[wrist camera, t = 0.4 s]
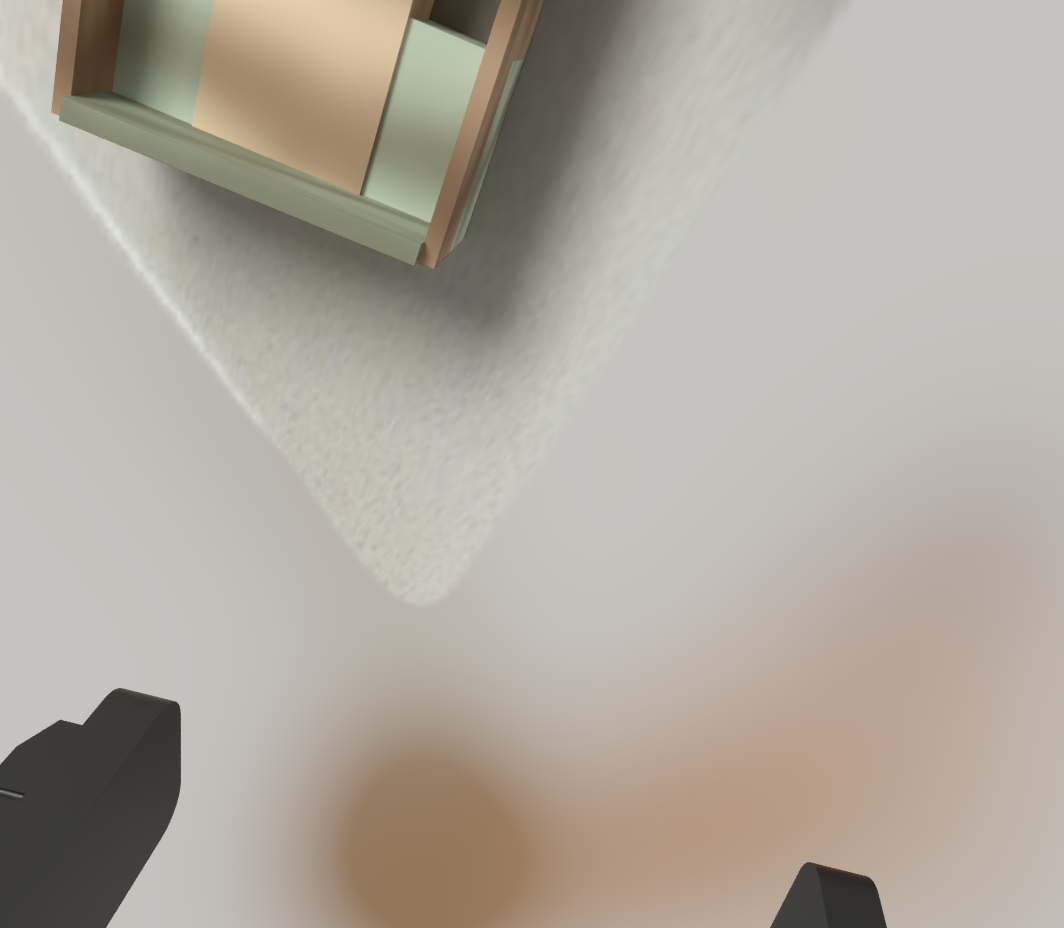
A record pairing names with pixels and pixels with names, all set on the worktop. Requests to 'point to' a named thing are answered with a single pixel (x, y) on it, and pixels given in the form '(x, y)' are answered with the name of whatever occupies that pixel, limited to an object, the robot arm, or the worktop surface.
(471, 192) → the wooden organizer box
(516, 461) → the worktop surface
